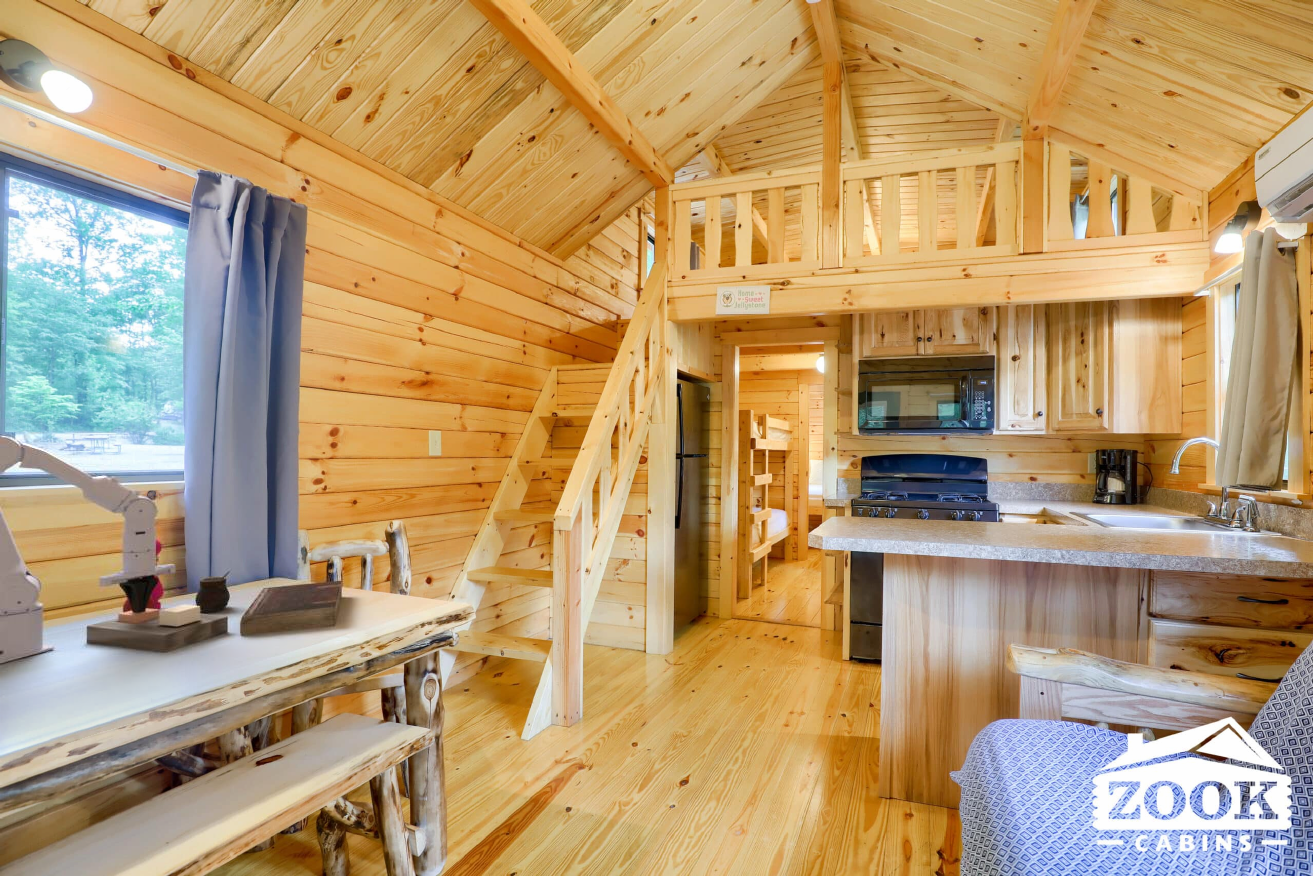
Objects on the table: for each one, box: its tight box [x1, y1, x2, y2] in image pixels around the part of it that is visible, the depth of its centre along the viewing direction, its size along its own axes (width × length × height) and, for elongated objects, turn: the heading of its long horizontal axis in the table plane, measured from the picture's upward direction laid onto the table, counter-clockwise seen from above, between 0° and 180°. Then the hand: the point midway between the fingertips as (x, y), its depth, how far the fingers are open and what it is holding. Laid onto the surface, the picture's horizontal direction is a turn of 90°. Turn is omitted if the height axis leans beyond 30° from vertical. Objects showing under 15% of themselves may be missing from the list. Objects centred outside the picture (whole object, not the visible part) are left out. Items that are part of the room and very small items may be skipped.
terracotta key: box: [117, 608, 159, 624], centre depth 139 cm, size 5×5×3 cm
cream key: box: [160, 604, 201, 626], centre depth 136 cm, size 5×5×3 cm
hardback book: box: [239, 580, 343, 637], centre depth 156 cm, size 29×19×5 cm, turn 24°
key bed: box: [86, 609, 229, 653], centre depth 138 cm, size 14×22×4 cm, turn 75°
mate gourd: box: [195, 570, 231, 613], centre depth 159 cm, size 7×8×10 cm
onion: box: [122, 596, 155, 613], centre depth 149 cm, size 6×6×8 cm
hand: (138, 611), depth 139 cm, fingers closed, pressing on terracotta key
